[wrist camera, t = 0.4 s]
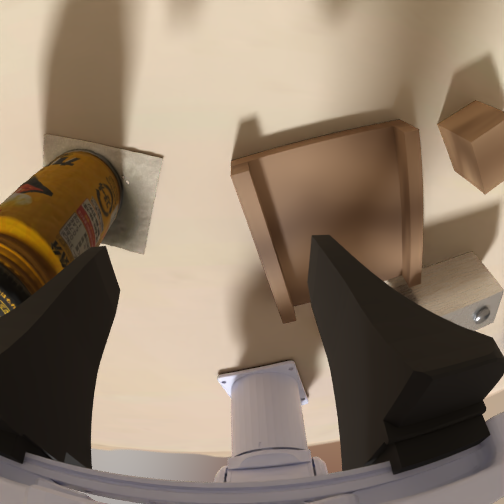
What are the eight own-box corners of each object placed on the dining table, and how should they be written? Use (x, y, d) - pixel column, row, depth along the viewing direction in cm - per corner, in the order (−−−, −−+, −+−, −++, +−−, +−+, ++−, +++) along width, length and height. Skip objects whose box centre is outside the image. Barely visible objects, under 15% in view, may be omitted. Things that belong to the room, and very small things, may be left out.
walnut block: (489, 146, 18) (522, 166, 15) (453, 170, 20) (485, 194, 16) (474, 100, 17) (511, 114, 13) (436, 123, 18) (471, 142, 14)
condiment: (46, 133, 17) (-82, 230, 7) (163, 157, 19) (92, 291, 9) (43, 225, 21) (-39, 346, 11) (145, 251, 23) (99, 399, 13)
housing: (466, 282, 26) (494, 324, 22) (386, 310, 28) (408, 360, 23) (471, 250, 24) (505, 292, 19) (385, 278, 25) (412, 330, 21)
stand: (408, 264, 24) (420, 284, 22) (279, 300, 26) (283, 323, 24) (399, 119, 18) (418, 129, 16) (231, 160, 19) (230, 176, 17)
